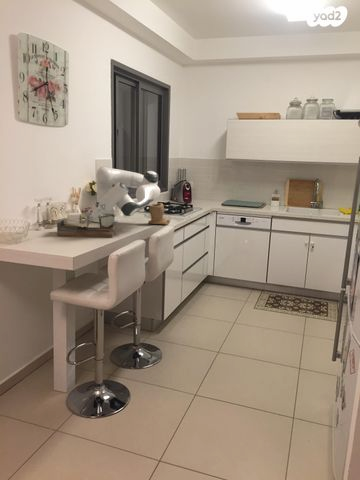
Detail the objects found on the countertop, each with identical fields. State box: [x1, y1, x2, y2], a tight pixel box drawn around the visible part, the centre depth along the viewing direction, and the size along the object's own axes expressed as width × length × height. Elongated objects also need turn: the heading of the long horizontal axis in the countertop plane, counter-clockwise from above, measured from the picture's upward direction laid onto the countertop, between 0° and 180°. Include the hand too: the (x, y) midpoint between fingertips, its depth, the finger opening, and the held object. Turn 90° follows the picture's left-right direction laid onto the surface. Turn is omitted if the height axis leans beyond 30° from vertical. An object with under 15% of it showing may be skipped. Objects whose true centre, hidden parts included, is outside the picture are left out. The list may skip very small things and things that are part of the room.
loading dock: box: [56, 218, 116, 239], centre depth 247 cm, size 15×32×8 cm, turn 93°
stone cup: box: [147, 202, 171, 226], centre depth 291 cm, size 15×12×15 cm
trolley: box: [64, 207, 91, 229], centre depth 246 cm, size 10×13×12 cm
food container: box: [98, 213, 116, 228], centre depth 265 cm, size 12×6×10 cm, turn 141°
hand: (89, 220), depth 246 cm, fingers closed, pressing on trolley
